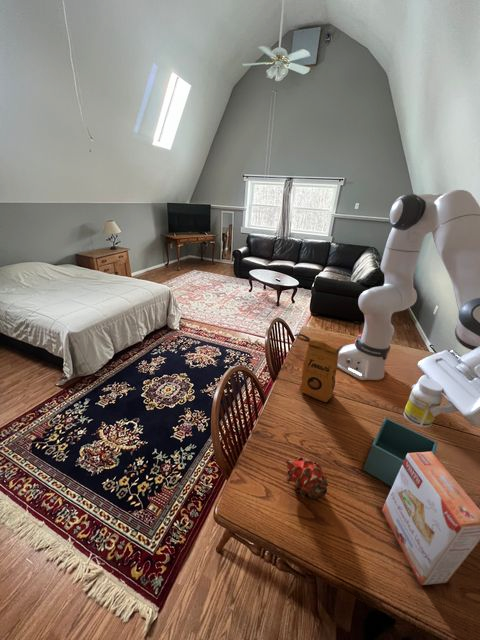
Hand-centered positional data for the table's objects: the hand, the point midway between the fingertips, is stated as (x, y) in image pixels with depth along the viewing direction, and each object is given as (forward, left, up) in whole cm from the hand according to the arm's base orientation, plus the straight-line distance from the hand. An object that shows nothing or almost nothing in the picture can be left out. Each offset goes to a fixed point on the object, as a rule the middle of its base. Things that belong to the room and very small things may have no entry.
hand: (421, 400), depth 65 cm
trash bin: (0, 0, -24) cm, 24 cm away
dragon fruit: (-17, -22, -25) cm, 37 cm away
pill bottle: (+1, 0, -6) cm, 6 cm away
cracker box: (+7, -18, -25) cm, 31 cm away
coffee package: (-31, +14, -25) cm, 42 cm away
